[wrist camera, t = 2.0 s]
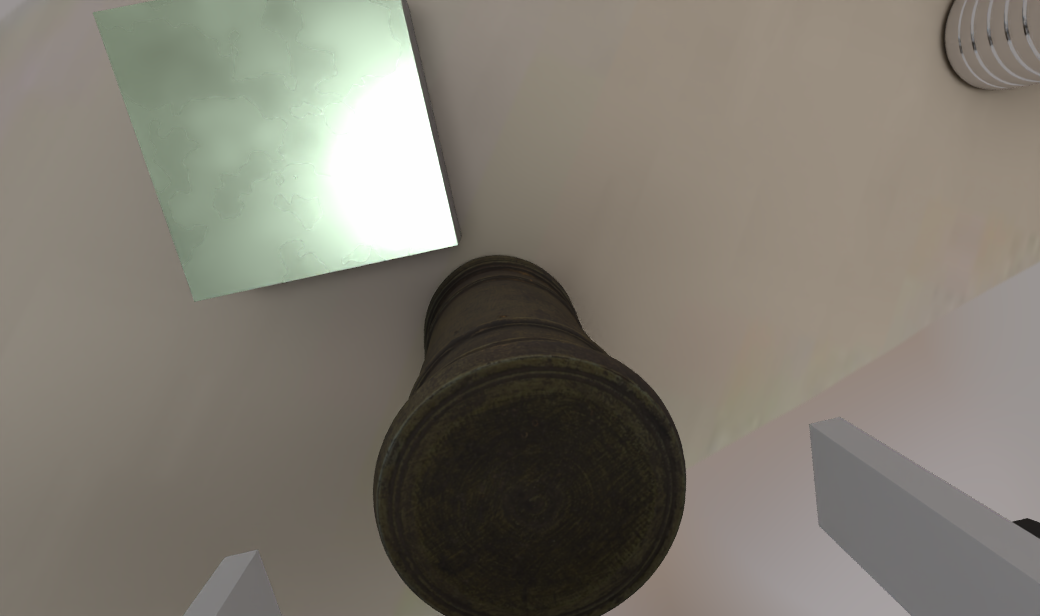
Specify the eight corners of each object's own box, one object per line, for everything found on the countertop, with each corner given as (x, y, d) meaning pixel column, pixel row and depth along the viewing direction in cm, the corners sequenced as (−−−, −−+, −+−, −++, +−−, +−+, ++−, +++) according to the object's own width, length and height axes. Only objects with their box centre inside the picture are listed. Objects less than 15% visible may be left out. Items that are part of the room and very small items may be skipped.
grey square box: (250, 280, 29) (194, 301, 24) (172, 40, 27) (87, -4, 21) (461, 235, 30) (457, 244, 24) (405, -6, 27) (386, -62, 21)
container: (466, 228, 30) (452, 273, 12) (603, 298, 31) (765, 428, 14) (398, 365, 31) (296, 582, 14) (532, 426, 33) (598, 694, 15)
